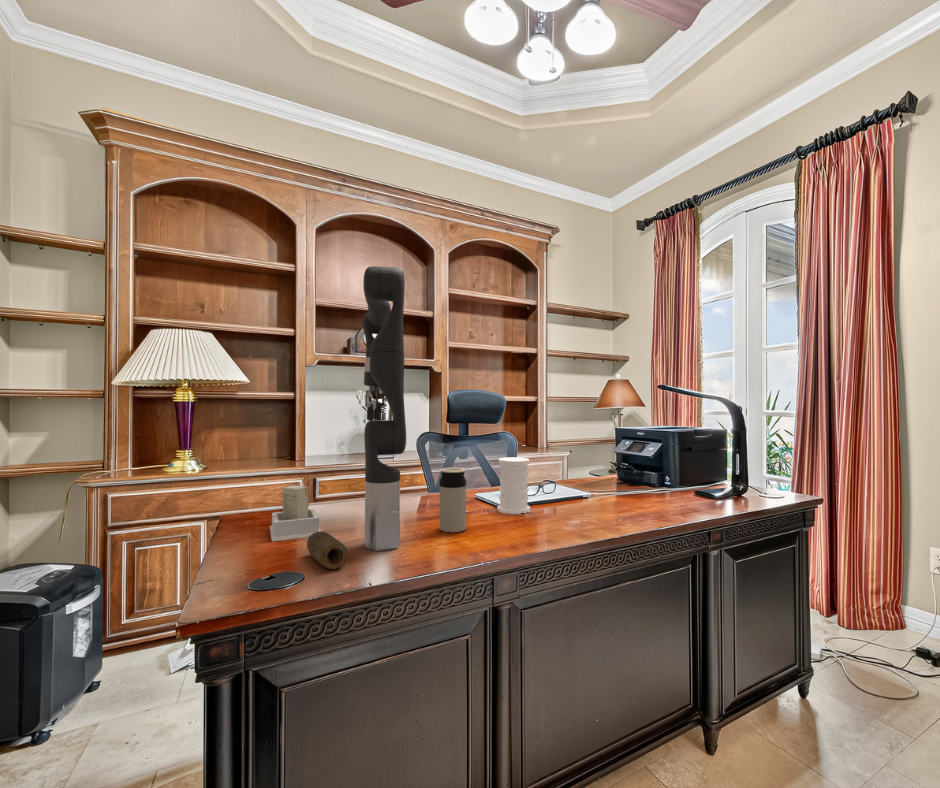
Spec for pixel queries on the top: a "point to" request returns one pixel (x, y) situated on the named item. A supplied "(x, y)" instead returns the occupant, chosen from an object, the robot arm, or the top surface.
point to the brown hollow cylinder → (326, 550)
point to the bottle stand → (293, 526)
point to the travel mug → (452, 500)
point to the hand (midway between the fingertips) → (373, 420)
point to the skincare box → (295, 502)
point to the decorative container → (513, 485)
